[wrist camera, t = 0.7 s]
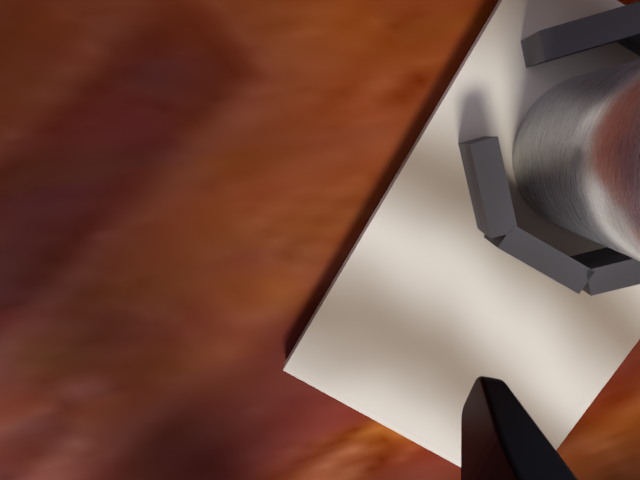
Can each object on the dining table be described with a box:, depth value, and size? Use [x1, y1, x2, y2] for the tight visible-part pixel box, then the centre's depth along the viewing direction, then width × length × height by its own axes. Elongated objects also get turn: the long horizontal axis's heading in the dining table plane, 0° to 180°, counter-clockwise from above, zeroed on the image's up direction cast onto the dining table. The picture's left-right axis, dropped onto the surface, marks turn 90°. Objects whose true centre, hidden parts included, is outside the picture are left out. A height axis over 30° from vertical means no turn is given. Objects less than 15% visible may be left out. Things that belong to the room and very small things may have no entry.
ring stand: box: [283, 0, 640, 467], centre depth 21 cm, size 19×12×3 cm, turn 151°
